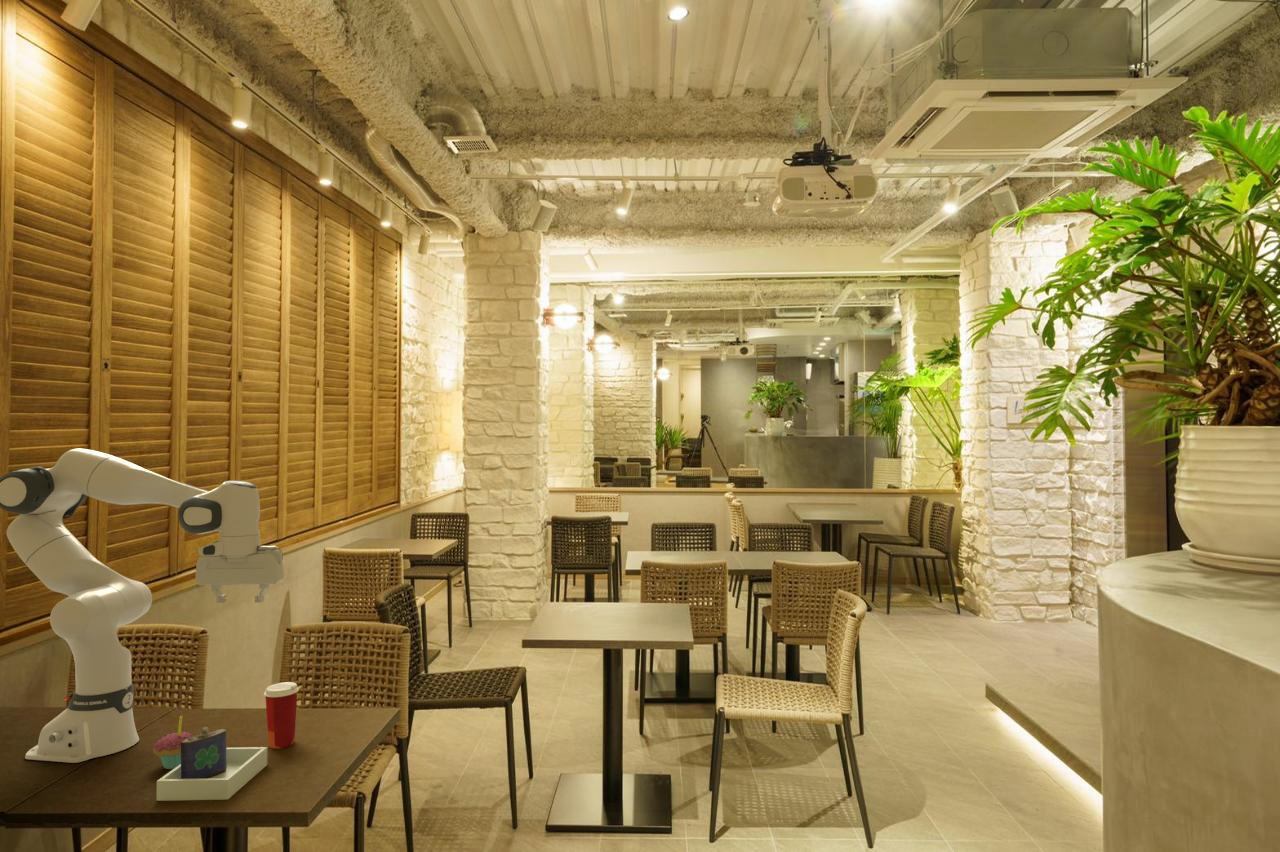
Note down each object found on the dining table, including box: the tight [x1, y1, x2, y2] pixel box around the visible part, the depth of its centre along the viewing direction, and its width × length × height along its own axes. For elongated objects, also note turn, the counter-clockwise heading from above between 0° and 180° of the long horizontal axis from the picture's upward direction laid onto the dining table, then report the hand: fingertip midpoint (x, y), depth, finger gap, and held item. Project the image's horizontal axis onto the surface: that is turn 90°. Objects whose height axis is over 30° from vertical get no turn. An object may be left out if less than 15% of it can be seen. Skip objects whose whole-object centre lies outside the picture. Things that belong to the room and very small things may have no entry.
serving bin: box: [156, 746, 268, 802], centre depth 162 cm, size 15×17×4 cm
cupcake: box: [152, 713, 195, 770], centre depth 171 cm, size 9×8×12 cm
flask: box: [181, 726, 227, 779], centre depth 162 cm, size 9×3×11 cm, turn 145°
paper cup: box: [263, 681, 300, 750], centre depth 182 cm, size 8×8×14 cm
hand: (240, 602), depth 185 cm, fingers open, 8 cm apart
